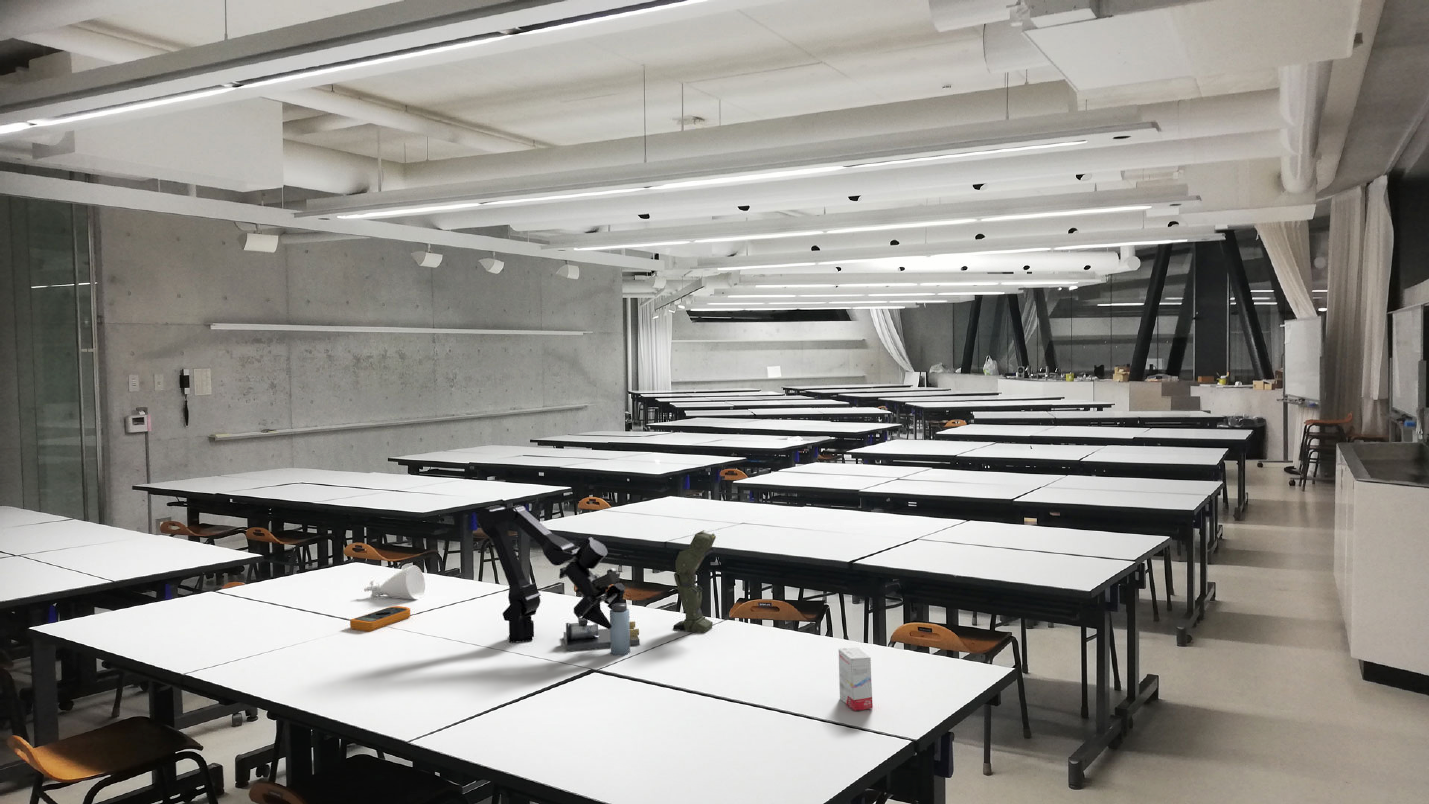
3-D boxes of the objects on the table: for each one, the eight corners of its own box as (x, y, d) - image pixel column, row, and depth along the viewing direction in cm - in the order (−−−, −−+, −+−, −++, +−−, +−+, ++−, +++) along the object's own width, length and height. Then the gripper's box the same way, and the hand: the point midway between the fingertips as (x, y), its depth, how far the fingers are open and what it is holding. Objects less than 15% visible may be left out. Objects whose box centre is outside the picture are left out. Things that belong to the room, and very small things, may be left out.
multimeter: (414, 618, 290) (413, 607, 290) (369, 633, 274) (368, 622, 274) (393, 615, 294) (393, 604, 294) (348, 630, 278) (348, 618, 278)
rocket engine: (361, 569, 316) (409, 559, 312) (380, 584, 324) (427, 575, 321) (355, 600, 308) (403, 590, 305) (375, 615, 317) (422, 605, 314)
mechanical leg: (659, 626, 272) (680, 528, 268) (670, 619, 279) (690, 524, 275) (702, 641, 268) (723, 542, 264) (711, 634, 274) (732, 538, 270)
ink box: (873, 709, 207) (872, 657, 207) (852, 712, 206) (851, 659, 206) (858, 696, 216) (858, 646, 215) (838, 698, 215) (837, 647, 214)
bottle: (611, 656, 248) (610, 608, 248) (609, 650, 253) (608, 603, 253) (631, 654, 249) (630, 606, 249) (628, 648, 254) (627, 601, 254)
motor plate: (566, 651, 253) (566, 625, 253) (563, 637, 266) (563, 613, 266) (641, 644, 258) (640, 619, 257) (634, 631, 270) (634, 607, 270)
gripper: (581, 567, 244) (619, 613, 240) (618, 553, 261) (654, 596, 257) (557, 594, 248) (594, 640, 244) (595, 579, 265) (630, 621, 260)
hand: (619, 623), depth 251 cm, fingers open, 9 cm apart
